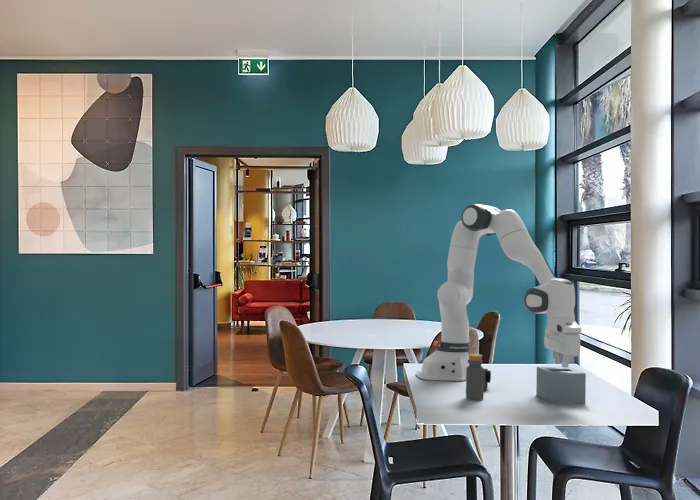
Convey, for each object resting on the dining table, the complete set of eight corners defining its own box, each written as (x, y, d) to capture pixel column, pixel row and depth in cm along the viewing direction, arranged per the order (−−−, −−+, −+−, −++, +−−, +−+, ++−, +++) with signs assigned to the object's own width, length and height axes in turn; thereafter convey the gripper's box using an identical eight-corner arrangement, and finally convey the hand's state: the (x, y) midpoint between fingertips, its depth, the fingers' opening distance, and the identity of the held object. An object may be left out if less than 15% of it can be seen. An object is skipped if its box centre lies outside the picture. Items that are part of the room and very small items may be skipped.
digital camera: (486, 393, 209) (486, 373, 209) (471, 392, 211) (471, 372, 211) (490, 387, 218) (491, 368, 218) (476, 386, 220) (476, 367, 221)
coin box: (550, 403, 196) (551, 373, 196) (536, 394, 207) (536, 366, 208) (585, 403, 197) (585, 373, 197) (568, 394, 209) (569, 366, 209)
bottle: (480, 401, 196) (480, 356, 197) (463, 399, 199) (464, 355, 200) (485, 398, 201) (486, 354, 201) (469, 395, 204) (470, 352, 205)
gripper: (539, 321, 212) (539, 359, 212) (565, 328, 192) (565, 371, 192) (556, 322, 213) (556, 360, 213) (584, 329, 193) (583, 371, 192)
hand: (560, 365), depth 202 cm, fingers open, 5 cm apart
